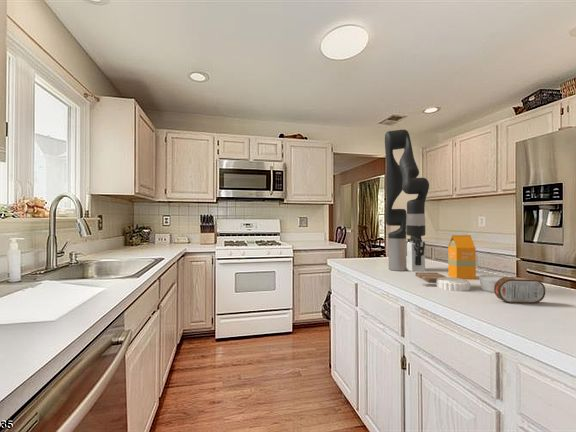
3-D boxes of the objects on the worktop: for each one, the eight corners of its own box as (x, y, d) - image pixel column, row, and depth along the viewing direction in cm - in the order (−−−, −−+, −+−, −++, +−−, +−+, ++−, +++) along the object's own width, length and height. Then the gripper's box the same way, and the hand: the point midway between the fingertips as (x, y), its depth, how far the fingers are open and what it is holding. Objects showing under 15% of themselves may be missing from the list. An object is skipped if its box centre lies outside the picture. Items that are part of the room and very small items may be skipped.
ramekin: (520, 295, 110) (520, 281, 110) (486, 294, 112) (486, 280, 112) (505, 288, 121) (504, 275, 121) (474, 287, 123) (474, 274, 123)
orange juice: (476, 279, 139) (475, 235, 139) (456, 279, 139) (456, 235, 139) (466, 275, 147) (466, 234, 147) (448, 275, 147) (447, 234, 147)
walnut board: (415, 275, 148) (415, 272, 148) (436, 275, 147) (436, 272, 147) (428, 282, 132) (428, 279, 132) (452, 282, 131) (452, 279, 131)
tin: (540, 301, 102) (540, 276, 102) (547, 304, 99) (547, 278, 99) (493, 300, 103) (493, 276, 103) (499, 303, 100) (498, 278, 100)
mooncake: (429, 286, 126) (429, 277, 126) (451, 283, 130) (451, 275, 130) (454, 292, 115) (454, 283, 115) (477, 290, 119) (477, 281, 119)
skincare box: (420, 269, 131) (419, 241, 131) (425, 271, 127) (425, 242, 127) (406, 269, 131) (406, 242, 131) (411, 271, 126) (411, 243, 126)
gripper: (401, 223, 136) (401, 261, 136) (412, 225, 122) (413, 267, 122) (418, 223, 135) (418, 261, 136) (431, 225, 121) (432, 267, 121)
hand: (416, 263), depth 129 cm, fingers closed on skincare box, 4 cm apart
